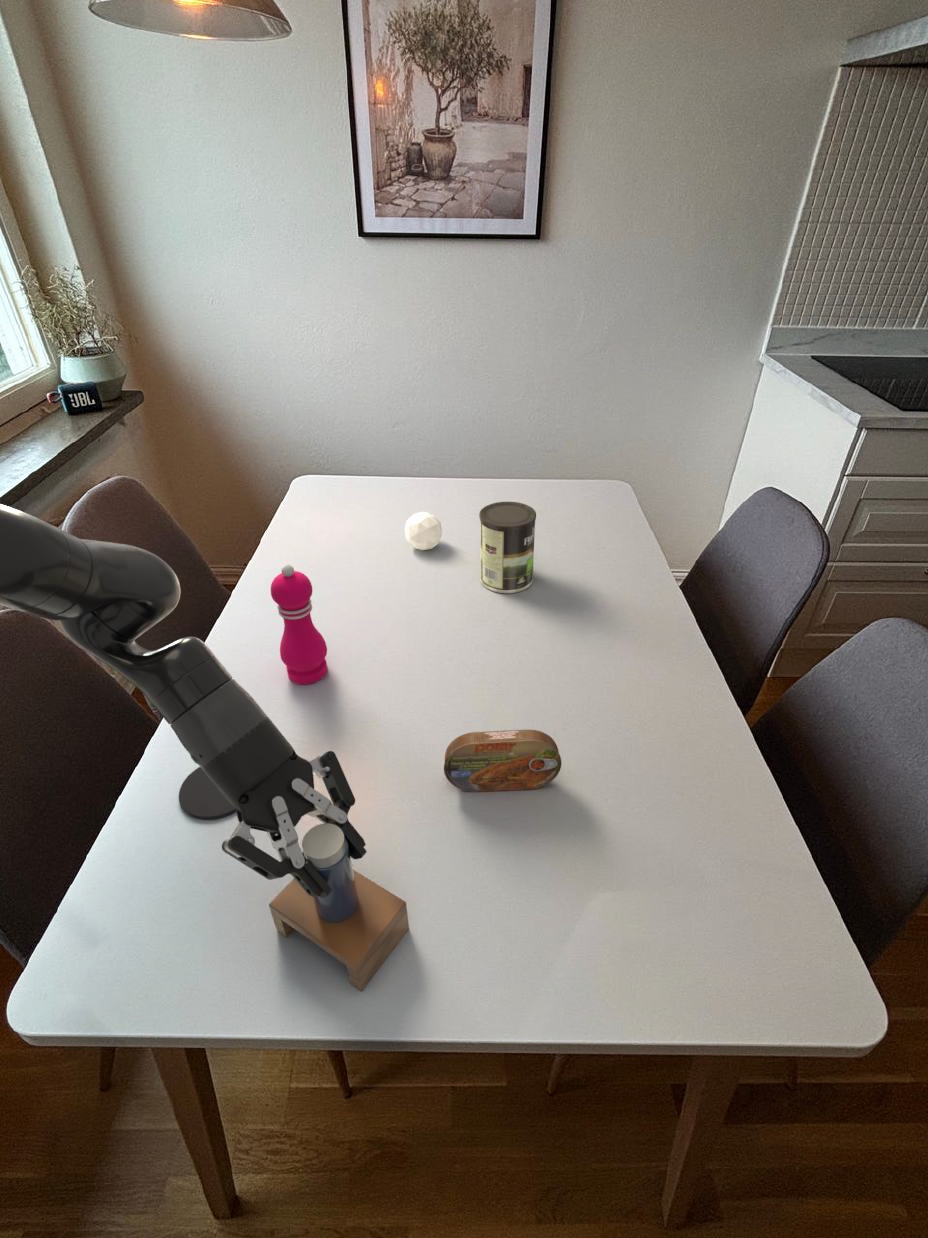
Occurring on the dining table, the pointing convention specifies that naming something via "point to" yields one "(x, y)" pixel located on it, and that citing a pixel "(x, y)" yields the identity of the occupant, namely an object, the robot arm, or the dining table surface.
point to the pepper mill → (298, 628)
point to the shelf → (347, 926)
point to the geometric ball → (423, 531)
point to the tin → (502, 760)
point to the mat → (203, 797)
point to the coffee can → (507, 546)
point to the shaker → (332, 871)
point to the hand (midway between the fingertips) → (343, 874)
